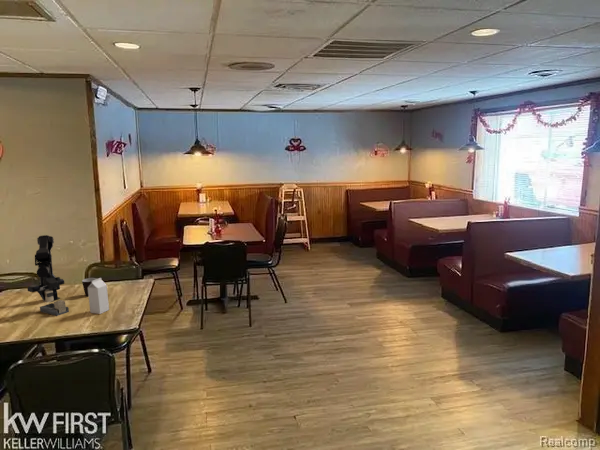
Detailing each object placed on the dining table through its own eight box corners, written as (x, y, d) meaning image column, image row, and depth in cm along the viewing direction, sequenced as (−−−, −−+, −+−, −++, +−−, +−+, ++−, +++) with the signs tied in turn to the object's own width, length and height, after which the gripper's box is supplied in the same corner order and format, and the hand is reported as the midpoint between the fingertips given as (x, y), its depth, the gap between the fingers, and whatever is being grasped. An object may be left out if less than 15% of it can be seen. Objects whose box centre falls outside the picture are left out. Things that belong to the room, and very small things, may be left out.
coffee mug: (92, 297, 288) (91, 282, 286) (80, 296, 290) (78, 281, 288) (104, 291, 299) (102, 276, 298) (92, 291, 301) (90, 276, 299)
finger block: (43, 301, 265) (41, 291, 264) (49, 299, 268) (48, 289, 267) (48, 302, 262) (46, 292, 261) (54, 300, 265) (53, 290, 264)
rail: (40, 311, 265) (38, 299, 263) (52, 307, 271) (50, 296, 270) (56, 315, 257) (55, 303, 255) (68, 311, 263) (67, 300, 262)
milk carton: (109, 309, 264) (106, 278, 261) (100, 314, 257) (96, 281, 254) (99, 308, 266) (96, 277, 263) (90, 313, 260) (86, 280, 257)
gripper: (36, 279, 251) (40, 306, 253) (68, 270, 266) (71, 296, 269) (25, 276, 256) (28, 303, 259) (57, 268, 272) (60, 294, 275)
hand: (48, 299), depth 265 cm, fingers closed on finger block, 4 cm apart
